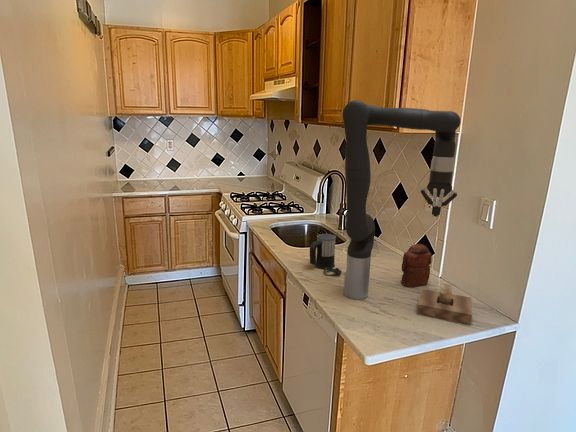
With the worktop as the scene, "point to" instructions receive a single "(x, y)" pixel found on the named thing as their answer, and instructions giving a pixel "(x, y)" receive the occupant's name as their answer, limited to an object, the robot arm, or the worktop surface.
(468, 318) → the wooden board with hole
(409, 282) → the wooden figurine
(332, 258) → the milk frother
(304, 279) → the worktop surface
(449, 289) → the beech peg
